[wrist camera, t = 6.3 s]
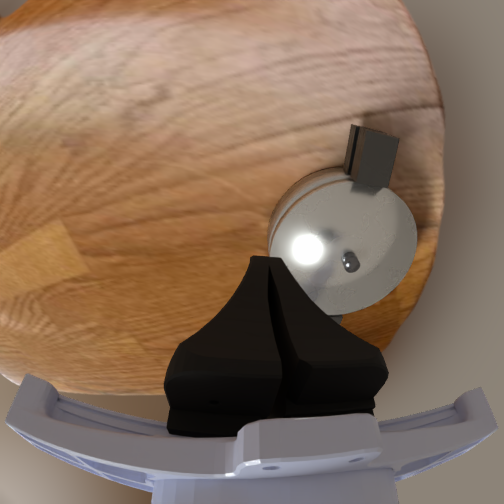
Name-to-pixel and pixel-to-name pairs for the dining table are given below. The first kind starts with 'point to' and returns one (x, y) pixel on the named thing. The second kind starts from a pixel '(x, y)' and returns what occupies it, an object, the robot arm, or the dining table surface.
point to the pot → (313, 182)
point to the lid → (350, 233)
